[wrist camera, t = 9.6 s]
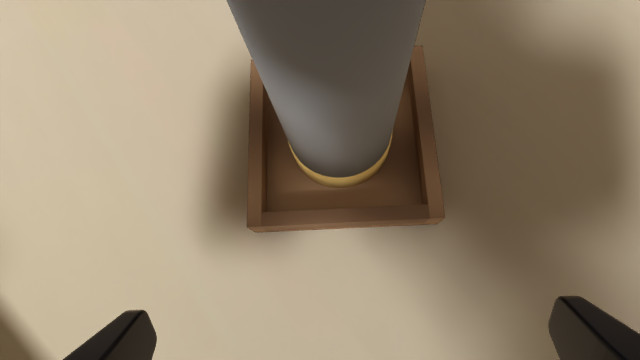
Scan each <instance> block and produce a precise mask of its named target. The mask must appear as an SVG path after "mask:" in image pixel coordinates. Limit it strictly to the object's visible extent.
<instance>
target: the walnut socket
mask: <svg viewBox="0 0 640 360" xmlns="http://www.w3.org/2000/svg"><path fill="white" fill-rule="evenodd" d="M444 218H445V213H444V206H443V198H442V190H441V183H440V175H439V168H438V160H437V153H436V145H435V138H434V130H433V123H432V115H431V108H430V100H429V93H428V85H427V78H426V70H425V62H424V55H423V47H422V46H414V48H413V52H412V56H411V60H410V64H409V68H408V72H407V76H406V80H405V83H404V87H403V91H402V95H401V99H400V103H399V107H398V111H397V115H396V119H395V123H394V127H393V133H392V139H391V143H390V147H389V151H388V155H387V157H386V160H385V162H384V164H383V165H382V167H381V168H380V170H379V171H378V172H377V173H376V174H375V175H374V176H373V177H371V178H370V179H369V180H367V181H365V182H364V183H361V184H359V185H356V186H353V187H348V188H332V187H327V186H324V185H321V184H319V183H317V182H315V181H313V180H312V179H310V178H309V177H308V176H307V175H306V174H305V173H304V172H303V171H302V170H301V169H300V167H299V166H298V164H297V162H296V160H295V158H294V155H293V153H292V151H291V148H290V146H289V143H288V139H287V137H286V134H285V132H284V130H283V128H282V125H281V123H280V121H279V118H278V116H277V114H276V112H275V109H274V107H273V105H272V103H271V100H270V98H269V96H268V93H267V91H266V89H265V87H264V84H263V82H262V80H261V78H260V75H259V73H258V71H257V68H256V66H255V64H254V62H253V59H252V60H251V80H250V121H249V162H248V203H247V228H249V229H251V230H253V231H254V232H275V231H296V230H318V229H339V228H361V227H382V226H404V225H425V224H438V223H439V222H440V221H442V220H443V219H444Z"/></svg>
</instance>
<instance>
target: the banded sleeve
mask: <svg viewBox="0 0 640 360" xmlns="http://www.w3.org/2000/svg"><path fill="white" fill-rule="evenodd" d="M425 1H426V0H227V2H228V5H229V7H230V9H231V12H232V14H233V16H234V18H235V21H236V23H237V25H238V27H239V30H240V32H241V34H242V37H243V39H244V41H245V43H246V46H247V48H248V50H249V52H250V55H251V57H252V59H253V62H254V64H255V66H256V68H257V71H258V73H259V75H260V78H261V80H262V82H263V84H264V87H265V89H266V91H267V93H268V96H269V98H270V100H271V103H272V105H273V107H274V109H275V112H276V114H277V116H278V118H279V121H280V123H281V125H282V128H283V130H284V132H285V134H286V137H287V139H288V143H289V146H290V148H291V151H292V153H293V155H294V158H295V160H296V162H297V164H298V166H299V167H300V169H301V170H302V171H303V172H304V173H305V174H306V175H307V176H308V177H309V178H310V179H312V180H313V181H315V182H317V183H319V184H321V185H324V186H327V187H332V188H348V187H353V186H356V185H359V184H361V183H364V182H365V181H367V180H369V179H370V178H371V177H373V176H374V175H375V174H376V173H377V172H378V171H379V170H380V168H381V167H382V165H383V164H384V162H385V160H386V157H387V155H388V151H389V147H390V143H391V139H392V133H393V127H394V123H395V119H396V115H397V111H398V107H399V103H400V99H401V95H402V91H403V87H404V83H405V80H406V76H407V72H408V68H409V64H410V60H411V56H412V52H413V48H414V44H415V40H416V36H417V32H418V28H419V25H420V21H421V17H422V13H423V9H424V5H425Z"/></svg>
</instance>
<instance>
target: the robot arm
mask: <svg viewBox="0 0 640 360" xmlns="http://www.w3.org/2000/svg"><path fill="white" fill-rule="evenodd" d="M549 333H550V336H551V338H552V341H553V343H554V346H555V348H556V351H557V353H558V355H559V358H560V360H640V334H639V333H637V332H636V331H634V330H633V329H631V328H630V327H628V326H626V325H625V324H623V323H622V322H620V321H619V320H617V319H615V318H614V317H612V316H611V315H609V314H608V313H606V312H604V311H603V310H601V309H600V308H598V307H596V306H595V305H593V304H592V303H590V302H589V301H587V300H585V299H584V298H582V297H580V296H560V297H558V298H557V299H556V300H555V303H554V306H553V310H552V313H551V317H550V320H549ZM156 342H157V336H156V332H155V330H154V327H153V325H152V323H151V320H150V318H149V316H148V314H147V312H146V311H144V310H129V311H126V312H124V313H122V314H121V315H120V316H118V317H117V318H116V319H115V320H113V321H112V322H111V323H109V324H108V325H107V326H106V327H104V328H103V329H102V330H100V331H99V332H98V333H96V334H95V335H94V336H93V337H91V338H90V339H89V340H87V341H86V342H85V343H84V344H82V345H81V346H80V347H78V348H77V349H76V350H75V351H73V352H72V353H71V354H69V355H68V356H67V357H65V358H64V359H63V360H152V357H153V353H154V350H155V347H156Z"/></svg>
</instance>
